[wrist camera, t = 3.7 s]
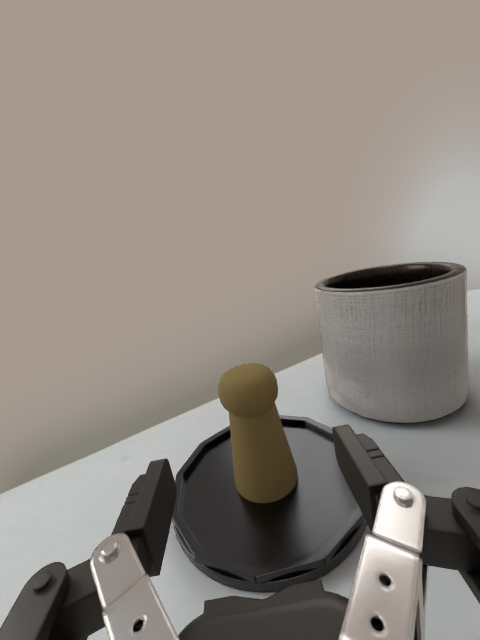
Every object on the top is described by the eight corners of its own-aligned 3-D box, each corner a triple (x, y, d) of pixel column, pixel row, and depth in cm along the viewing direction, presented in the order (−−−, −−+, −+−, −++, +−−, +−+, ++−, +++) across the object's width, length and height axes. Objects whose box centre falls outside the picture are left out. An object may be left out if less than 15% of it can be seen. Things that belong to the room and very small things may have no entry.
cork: (222, 479, 28) (196, 377, 25) (265, 444, 31) (246, 351, 29) (266, 516, 23) (240, 395, 21) (311, 470, 27) (293, 362, 24)
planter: (357, 358, 49) (347, 267, 45) (479, 376, 37) (480, 255, 33) (305, 406, 38) (287, 292, 35) (452, 450, 27) (448, 287, 23)
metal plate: (273, 407, 40) (271, 398, 39) (412, 477, 25) (411, 464, 25) (147, 486, 30) (143, 475, 30) (252, 674, 15) (247, 656, 15)
